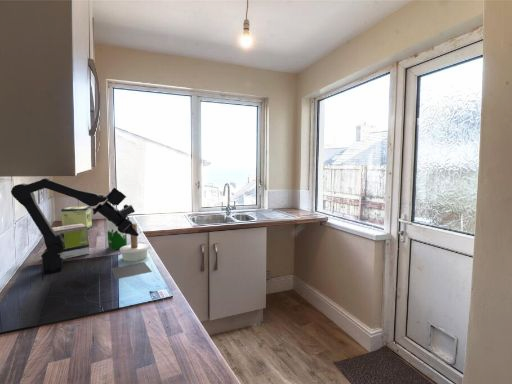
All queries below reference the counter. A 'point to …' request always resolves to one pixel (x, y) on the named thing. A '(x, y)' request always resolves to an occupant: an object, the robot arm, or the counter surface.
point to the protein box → (77, 216)
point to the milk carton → (115, 237)
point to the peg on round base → (134, 244)
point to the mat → (130, 270)
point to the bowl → (134, 256)
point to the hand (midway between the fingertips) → (136, 233)
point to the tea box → (74, 240)
